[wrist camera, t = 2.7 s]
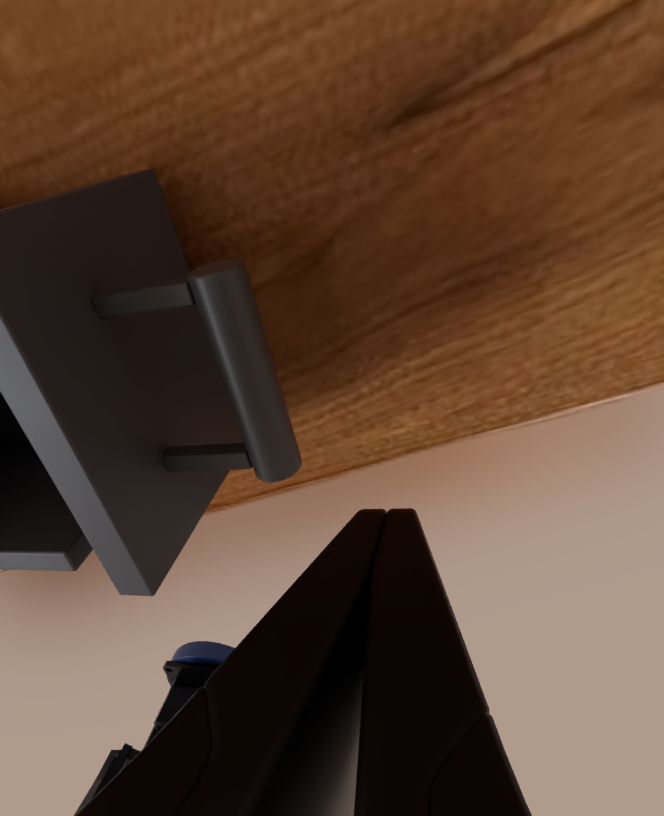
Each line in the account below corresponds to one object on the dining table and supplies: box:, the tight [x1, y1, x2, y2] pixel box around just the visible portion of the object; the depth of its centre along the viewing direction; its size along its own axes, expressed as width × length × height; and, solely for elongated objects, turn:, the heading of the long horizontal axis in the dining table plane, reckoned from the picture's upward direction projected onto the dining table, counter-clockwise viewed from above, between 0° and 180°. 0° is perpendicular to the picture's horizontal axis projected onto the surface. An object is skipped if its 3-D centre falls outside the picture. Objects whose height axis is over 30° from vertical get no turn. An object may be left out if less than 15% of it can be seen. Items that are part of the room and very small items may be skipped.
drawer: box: [0, 169, 302, 596], centre depth 17 cm, size 17×10×8 cm, turn 102°
